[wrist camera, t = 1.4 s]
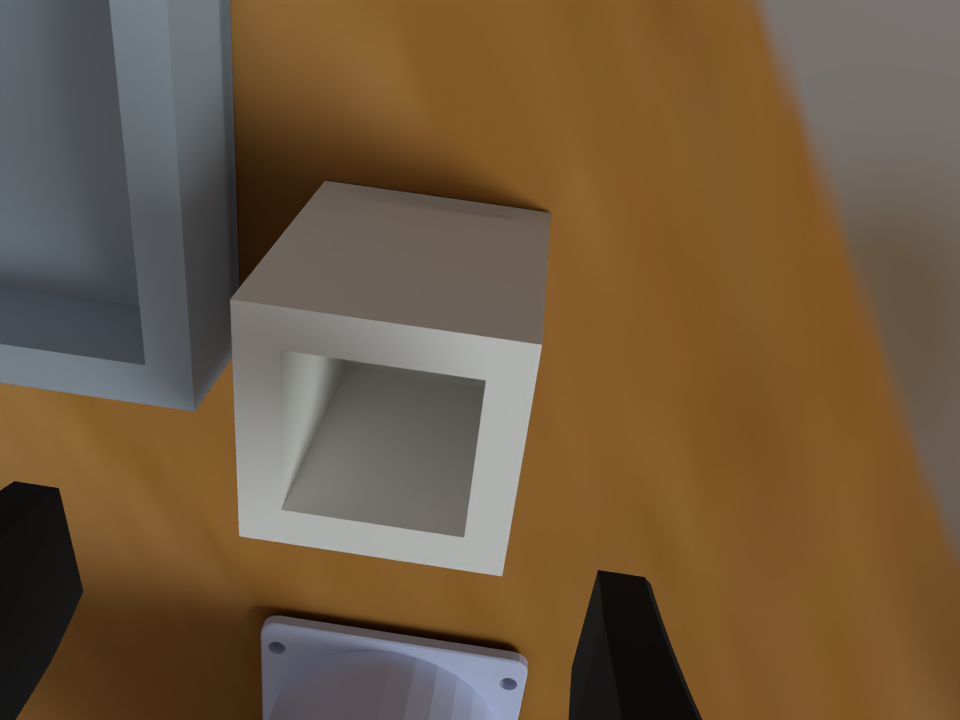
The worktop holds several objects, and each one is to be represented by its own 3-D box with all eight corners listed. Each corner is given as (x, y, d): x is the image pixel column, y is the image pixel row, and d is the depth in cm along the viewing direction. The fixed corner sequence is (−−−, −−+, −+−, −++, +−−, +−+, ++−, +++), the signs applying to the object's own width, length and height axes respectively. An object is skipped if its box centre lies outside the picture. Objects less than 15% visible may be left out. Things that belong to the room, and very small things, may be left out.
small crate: (519, 403, 21) (501, 576, 16) (320, 374, 21) (239, 536, 16) (550, 212, 19) (542, 344, 13) (324, 180, 19) (230, 299, 14)
